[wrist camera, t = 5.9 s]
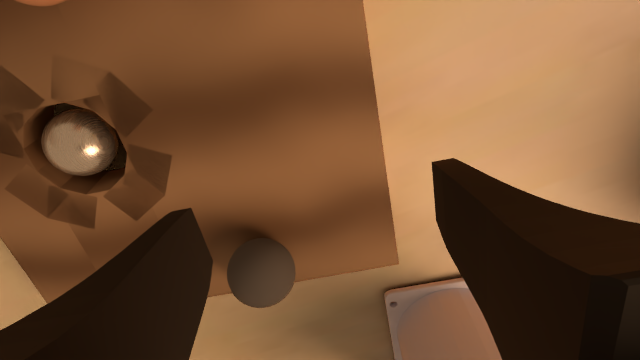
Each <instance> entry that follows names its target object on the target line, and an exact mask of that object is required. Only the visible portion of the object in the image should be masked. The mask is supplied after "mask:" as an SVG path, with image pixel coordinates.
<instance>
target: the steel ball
mask: <svg viewBox="0 0 640 360" xmlns="http://www.w3.org/2000/svg"><path fill="white" fill-rule="evenodd" d="M41 143H42V149H43V152H44V154H45V156H46V158H47V159H48V160H49V162H50V163H51V164H52V165H53V166H55V167H56V168H57V169H59V170H61V171H63V172H65V173H68V174H71V175H76V176H87V175H92V174H96V173H98V172H100V171H102V170H104V169H105V168H107V167H108V166H109V165H110V164H111V163H112V162H113V160H114V159H115V157H116V155H117V152H118V146H119V142H118V136H117V133H116V131H115V129H114V128H113V127H112V126H111V125H110V124H108V123H107V122H106V121H105V120H104V119H102V118H101V117H100V116H99V115H98V114H96V113H95V112H93V111H90V110H85V109H72V110H67V111H64V112H61V113H59V114H57V115H56V116H54V117H53V118H52V119H51V120H50V121H49V122H48V123H47V125H46V126H45V128H44V130H43V133H42V139H41Z"/></svg>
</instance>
